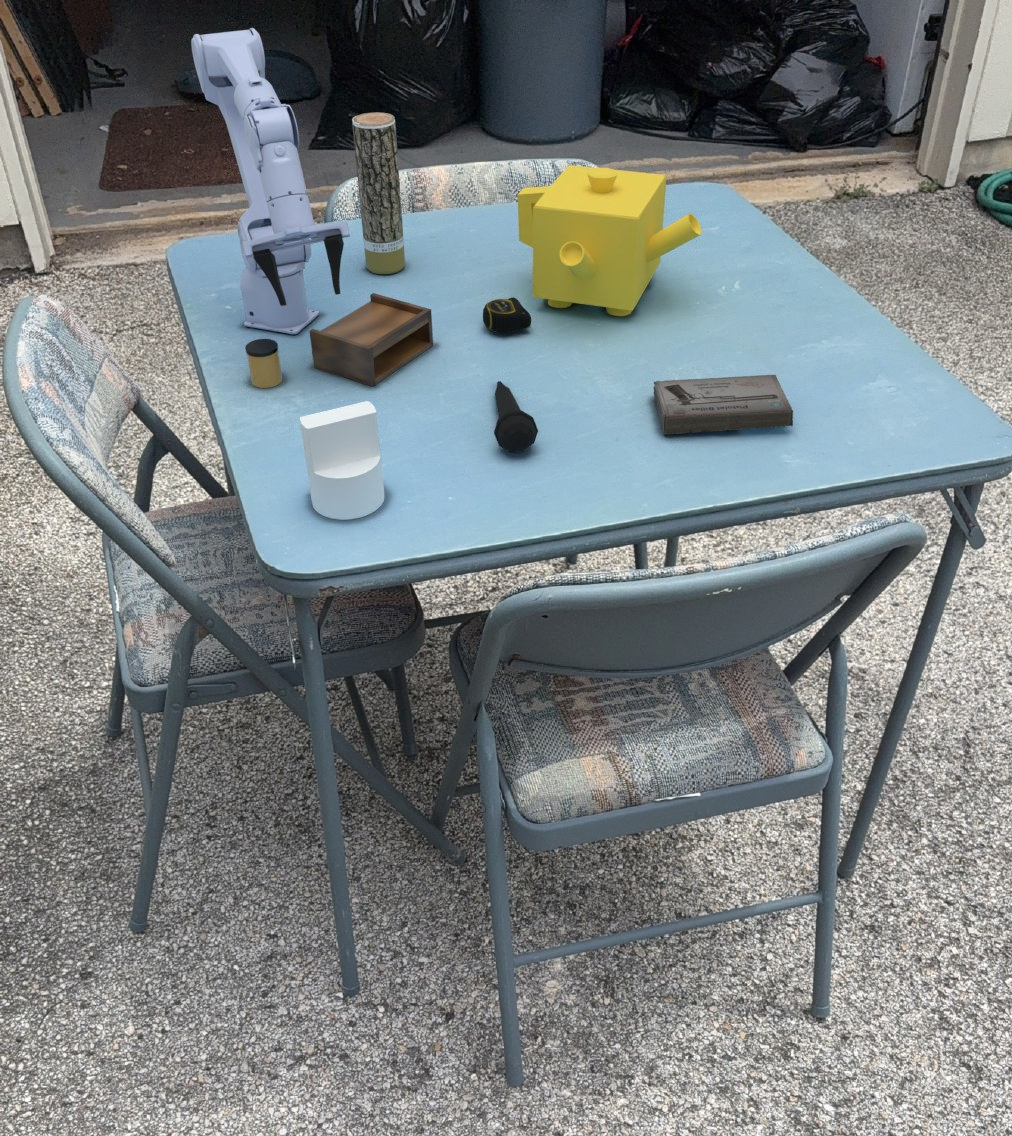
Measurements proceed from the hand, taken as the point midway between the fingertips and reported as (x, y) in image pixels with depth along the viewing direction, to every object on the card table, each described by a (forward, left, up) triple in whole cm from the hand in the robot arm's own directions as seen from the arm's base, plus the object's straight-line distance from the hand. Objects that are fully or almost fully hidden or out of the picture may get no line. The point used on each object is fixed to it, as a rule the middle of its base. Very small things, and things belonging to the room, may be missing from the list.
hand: (310, 299), depth 157 cm
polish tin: (-7, -3, -13) cm, 15 cm away
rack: (+4, +9, -13) cm, 16 cm away
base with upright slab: (+18, -26, -13) cm, 34 cm away
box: (+57, +9, -13) cm, 59 cm away
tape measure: (+20, +25, -13) cm, 34 cm away
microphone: (+31, -2, -13) cm, 33 cm away
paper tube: (-8, +39, -13) cm, 42 cm away
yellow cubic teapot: (+31, +41, -13) cm, 53 cm away
